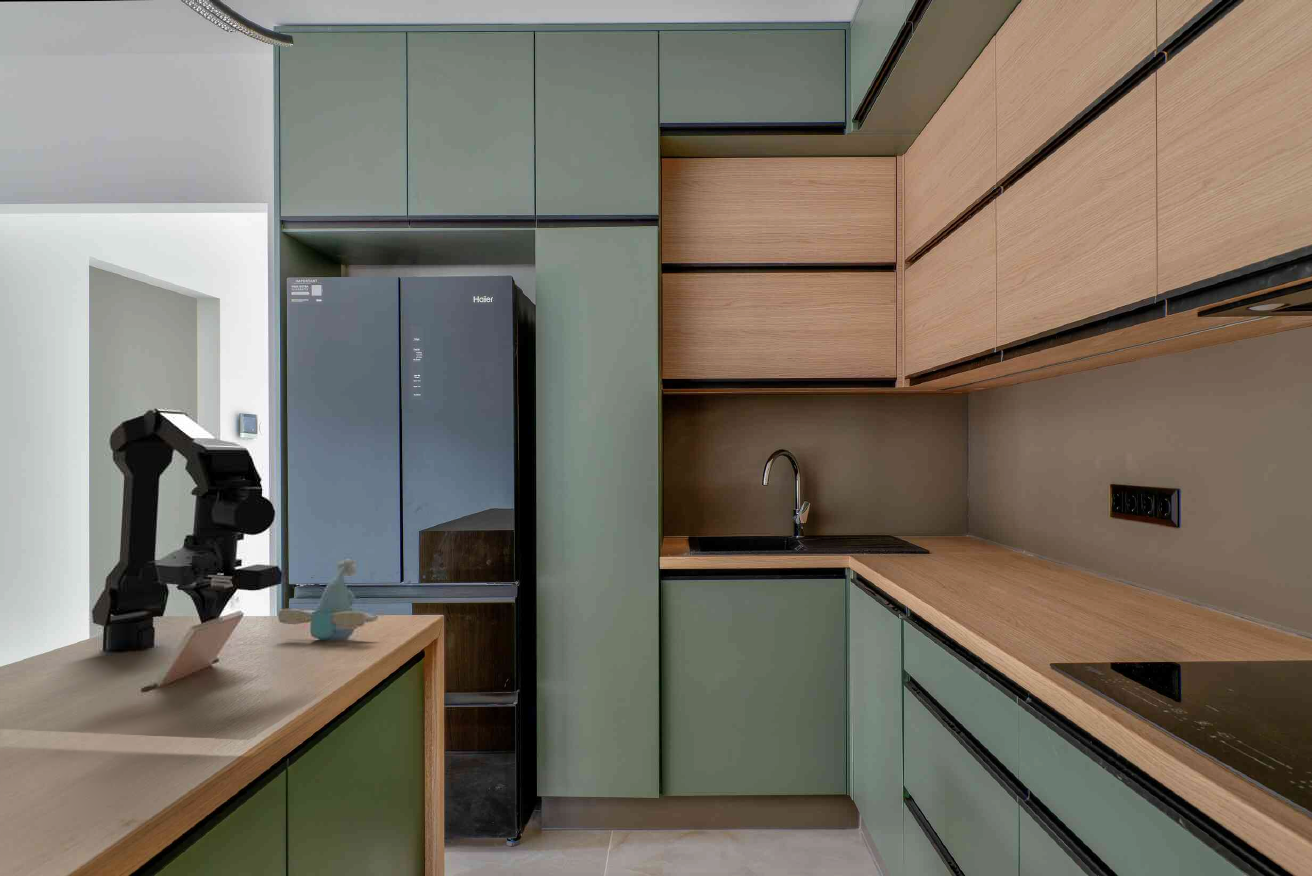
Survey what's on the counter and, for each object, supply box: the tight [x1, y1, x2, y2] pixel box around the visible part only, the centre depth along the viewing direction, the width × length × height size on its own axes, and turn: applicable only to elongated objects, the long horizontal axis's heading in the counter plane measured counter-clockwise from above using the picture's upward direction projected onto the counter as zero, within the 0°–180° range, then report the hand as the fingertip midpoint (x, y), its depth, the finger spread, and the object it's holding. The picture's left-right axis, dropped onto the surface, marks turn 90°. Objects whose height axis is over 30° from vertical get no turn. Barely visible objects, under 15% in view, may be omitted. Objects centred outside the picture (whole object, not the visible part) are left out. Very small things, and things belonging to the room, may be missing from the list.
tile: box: [153, 610, 245, 688], centre depth 97 cm, size 10×10×1 cm
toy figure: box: [278, 558, 379, 642], centre depth 121 cm, size 17×10×15 cm, turn 84°
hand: (207, 630), depth 97 cm, fingers closed, pressing on tile
